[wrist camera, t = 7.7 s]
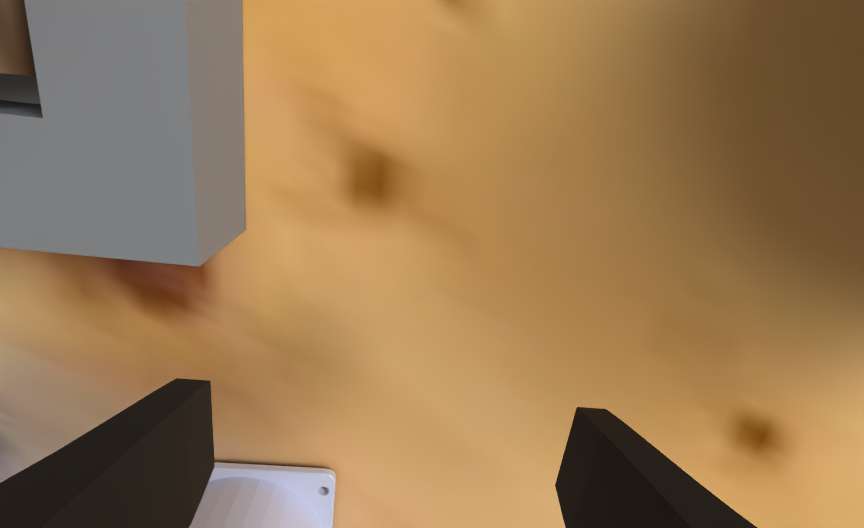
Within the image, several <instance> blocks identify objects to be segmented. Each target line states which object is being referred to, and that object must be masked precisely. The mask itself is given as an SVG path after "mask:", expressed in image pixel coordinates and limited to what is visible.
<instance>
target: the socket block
mask: <svg viewBox="0 0 864 528" xmlns="http://www.w3.org/2000/svg"><path fill="white" fill-rule="evenodd" d="M24 2H25V8H26V14H27V21H28V27H29V33H30V40H31V46H32V52H33V58H34V65H35V71H36V76H30V75H17V74H4V73H0V248H9V249H20V250H30V251H41V252H52V253H62V254H73V255H84V256H94V257H105V258H116V259H126V260H137V261H147V262H158V263H169V264H179V265H190V266H200V265H202V264H203V263H204V262H205V261H207V260H208V259H209V258H211V257H212V256H213V255H214V254H216V253H217V252H218V251H220V250H221V249H222V248H223V247H225V246H226V245H227V244H229V243H230V242H231V241H232V240H234V239H235V238H236V237H238V236H239V235H240V234H241V233H243V232H244V231H245V230H246V210H245V148H244V87H243V25H242V0H24Z"/></svg>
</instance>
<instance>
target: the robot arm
mask: <svg viewBox="0 0 864 528" xmlns="http://www.w3.org/2000/svg"><path fill="white" fill-rule="evenodd" d="M335 486H336V474H335V473H334V472H333V471H332V470H330V469H326V468H310V467H292V466H274V465H255V464H237V463H219V462H214V446H213V426H212V406H211V385H210V381H205V380H191V379H175V380H173V381H171V382H170V383H168V384H166V385H164V386H163V387H161V388H159V389H157V390H156V391H154V392H153V393H151V394H149V395H148V396H146V397H144V398H143V399H141V400H139V401H138V402H136V403H135V404H133V405H131V406H130V407H128V408H127V409H125V410H123V411H122V412H120V413H119V414H117V415H115V416H114V417H112V418H110V419H109V420H107V421H106V422H104V423H102V424H101V425H99V426H97V427H96V428H94V429H92V430H91V431H89V432H87V433H86V434H84V435H82V436H81V437H79V438H78V439H76V440H74V441H73V442H71V443H69V444H68V445H66V446H64V447H63V448H61V449H59V450H58V451H56V452H54V453H53V454H51V455H49V456H47V457H45V458H44V459H42V460H40V461H38V462H37V463H35V464H33V465H31V466H30V467H28V468H26V469H24V470H22V471H21V472H19V473H17V474H15V475H14V476H12V477H10V478H8V479H7V480H5V481H3V482H1V483H0V528H333V516H334V501H335ZM555 486H556V490H557V494H558V499H559V503H560V507H561V511H562V515H563V519H564V523H565V526H566V528H757V527H756V526H754V525H753V524H752V523H750V522H749V521H747V520H746V519H745V518H743V517H742V516H741V515H739V514H738V513H737V512H735V511H734V510H733V509H731V508H730V507H729V506H728V505H726V504H725V503H724V502H722V501H721V500H720V499H718V498H717V497H716V496H715V495H713V494H712V493H711V492H710V491H708V490H707V489H706V488H704V487H703V486H702V485H701V484H699V483H698V482H697V481H696V480H694V479H693V478H692V477H691V476H689V475H688V474H687V473H686V472H684V471H683V470H682V469H681V468H679V467H678V466H677V465H676V464H675V463H673V462H672V461H671V460H670V459H668V458H667V457H666V456H665V455H663V454H662V453H661V452H660V451H659V450H657V449H656V448H655V447H654V446H652V445H651V444H650V443H649V442H648V441H646V440H645V439H644V438H643V437H641V436H640V435H639V434H638V433H636V432H635V431H634V430H633V429H631V428H630V427H629V426H628V425H626V424H625V423H624V422H623V421H621V420H620V419H619V418H617V417H616V416H615V415H613V414H612V413H610V412H609V411H608V410H606V409H597V408H583V407H577V409H576V412H575V416H574V420H573V423H572V427H571V430H570V434H569V438H568V441H567V445H566V448H565V452H564V455H563V459H562V463H561V466H560V470H559V473H558V477H557V481H556V484H555ZM321 487H327V488H326V489H324V488H321Z"/></svg>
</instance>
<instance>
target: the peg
mask: <svg viewBox="0 0 864 528" xmlns="http://www.w3.org/2000/svg"><path fill="white" fill-rule="evenodd" d="M0 73H4V74H17V75H30V76H36V71H35V65H34V58H33V52H32V46H31V40H30V33H29V27H28V21H27V14H26V8H25V2H24V0H0Z"/></svg>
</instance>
